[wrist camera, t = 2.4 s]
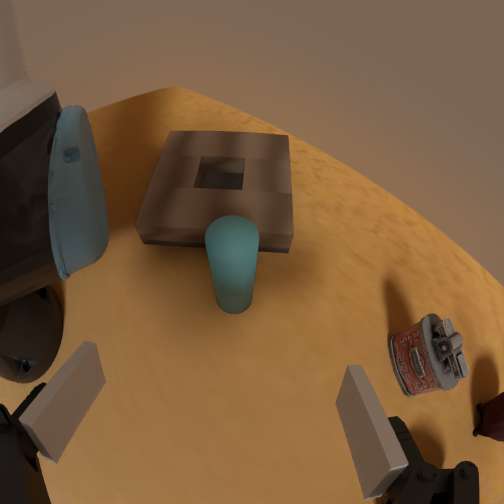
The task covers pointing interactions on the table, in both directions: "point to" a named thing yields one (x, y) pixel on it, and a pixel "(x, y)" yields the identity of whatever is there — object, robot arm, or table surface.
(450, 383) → the lighter
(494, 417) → the mate gourd
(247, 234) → the pin
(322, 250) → the table surface
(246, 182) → the hole board
